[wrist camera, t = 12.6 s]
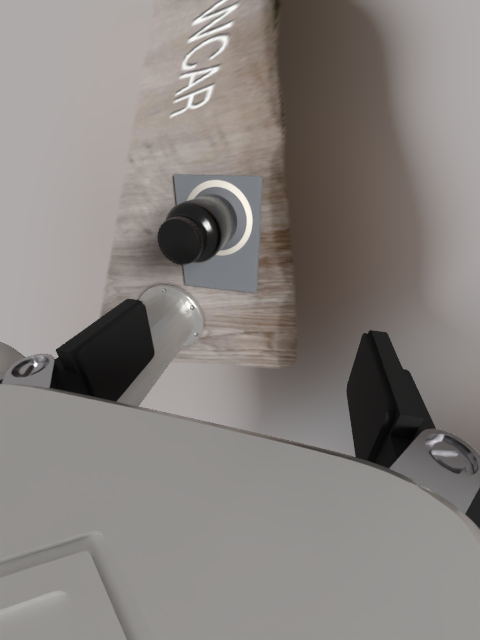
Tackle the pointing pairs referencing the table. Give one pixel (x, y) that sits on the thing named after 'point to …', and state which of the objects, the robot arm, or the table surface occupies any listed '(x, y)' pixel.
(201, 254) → the supplement bottle
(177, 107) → the table surface
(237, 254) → the mat
